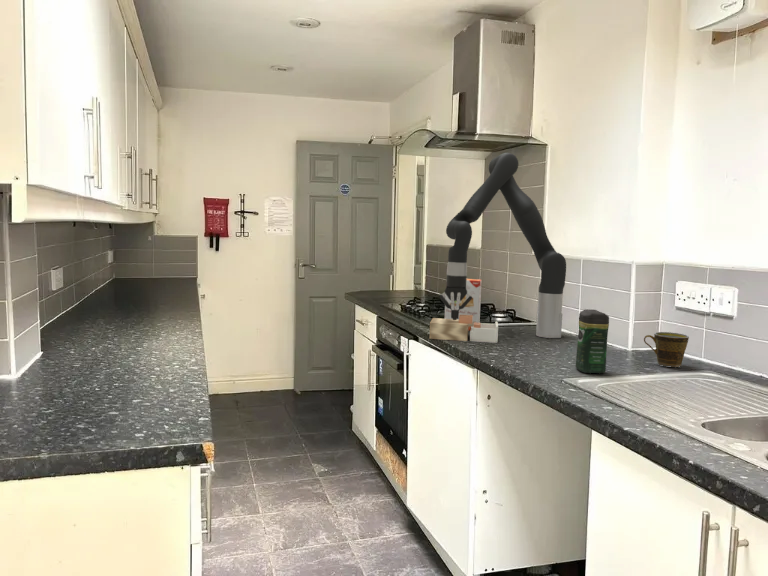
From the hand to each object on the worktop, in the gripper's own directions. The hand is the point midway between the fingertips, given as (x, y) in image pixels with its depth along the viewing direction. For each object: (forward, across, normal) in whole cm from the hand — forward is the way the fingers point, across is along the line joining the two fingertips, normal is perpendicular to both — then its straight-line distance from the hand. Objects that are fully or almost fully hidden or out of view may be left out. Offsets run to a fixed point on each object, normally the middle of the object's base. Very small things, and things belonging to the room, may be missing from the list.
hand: (454, 319), depth 231 cm
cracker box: (+7, -2, -19) cm, 20 cm away
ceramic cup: (+7, -68, +27) cm, 74 cm away
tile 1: (+1, -4, 0) cm, 4 cm away
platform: (+7, +2, 0) cm, 7 cm away
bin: (+7, -11, 0) cm, 13 cm away
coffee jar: (+7, -43, +42) cm, 61 cm away
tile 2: (+4, -7, 0) cm, 8 cm away
